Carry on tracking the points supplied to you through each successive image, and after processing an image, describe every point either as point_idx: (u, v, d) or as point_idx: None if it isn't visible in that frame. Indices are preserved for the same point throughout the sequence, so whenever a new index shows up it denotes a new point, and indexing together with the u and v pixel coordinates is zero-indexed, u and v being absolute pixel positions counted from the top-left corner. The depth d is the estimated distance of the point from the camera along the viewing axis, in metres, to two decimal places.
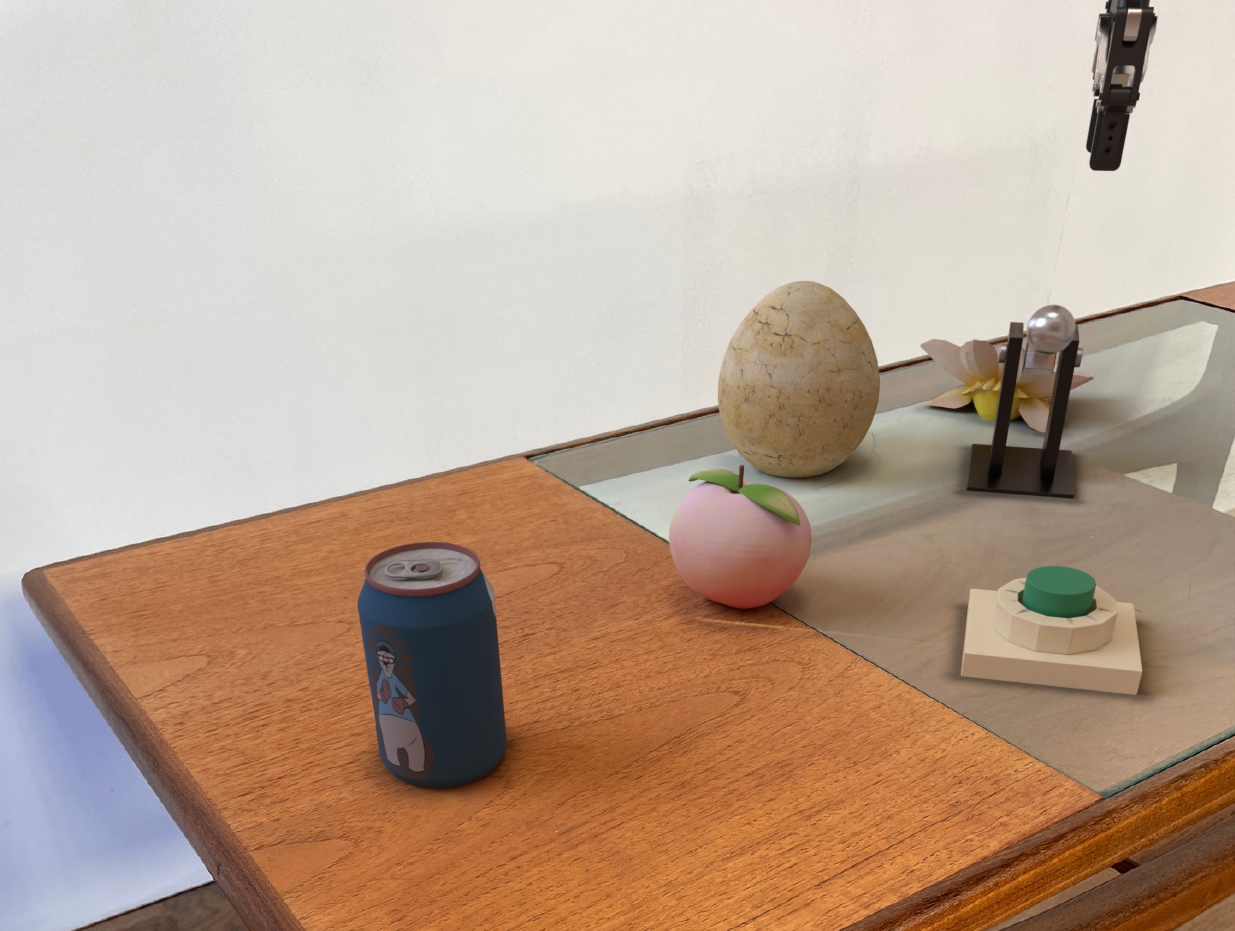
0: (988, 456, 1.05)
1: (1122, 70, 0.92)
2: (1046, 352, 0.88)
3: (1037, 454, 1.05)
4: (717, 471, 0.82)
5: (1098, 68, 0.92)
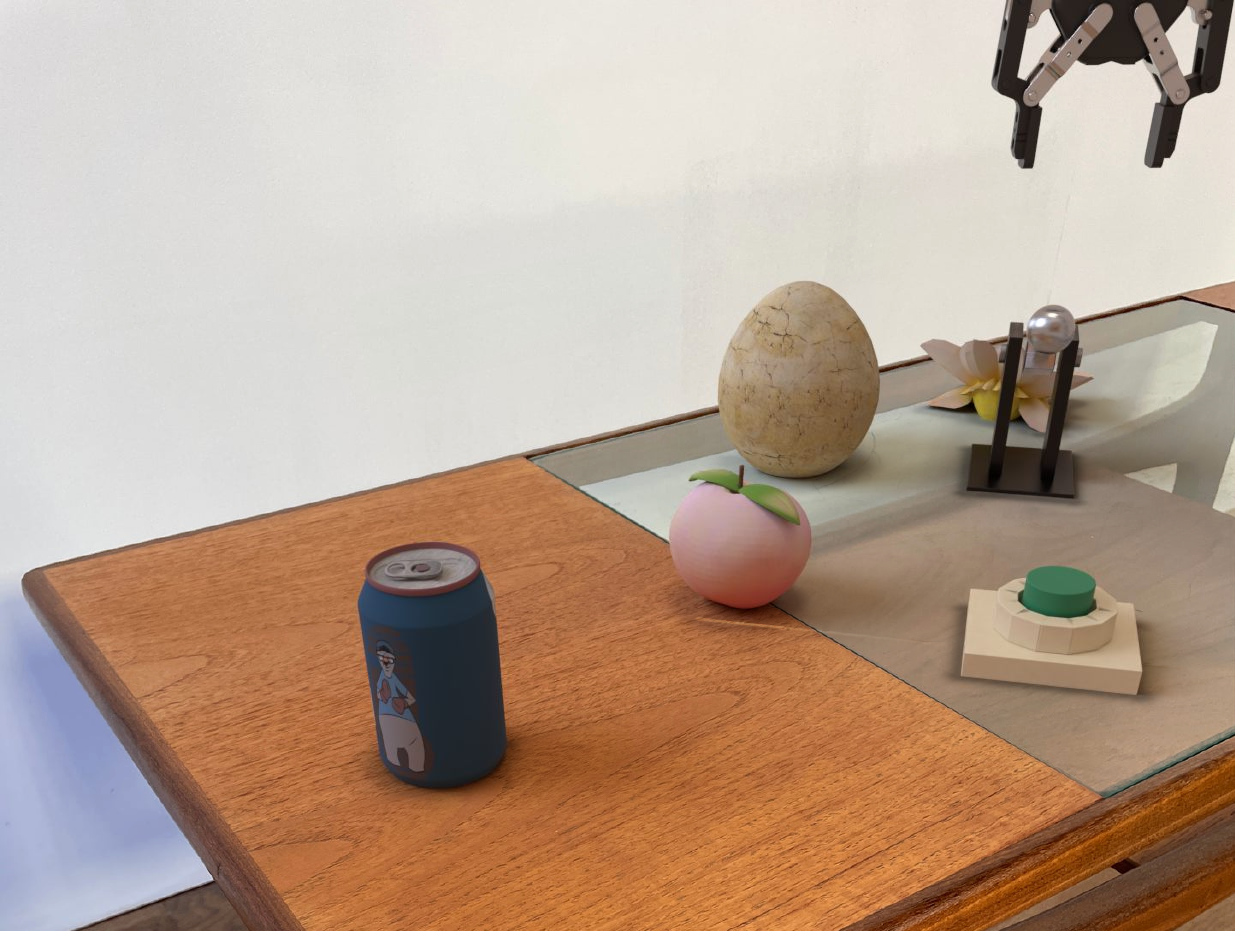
0: (988, 456, 1.05)
1: (1046, 59, 0.84)
2: (1046, 352, 0.88)
3: (1037, 454, 1.05)
4: (717, 471, 0.82)
5: (1043, 54, 0.85)
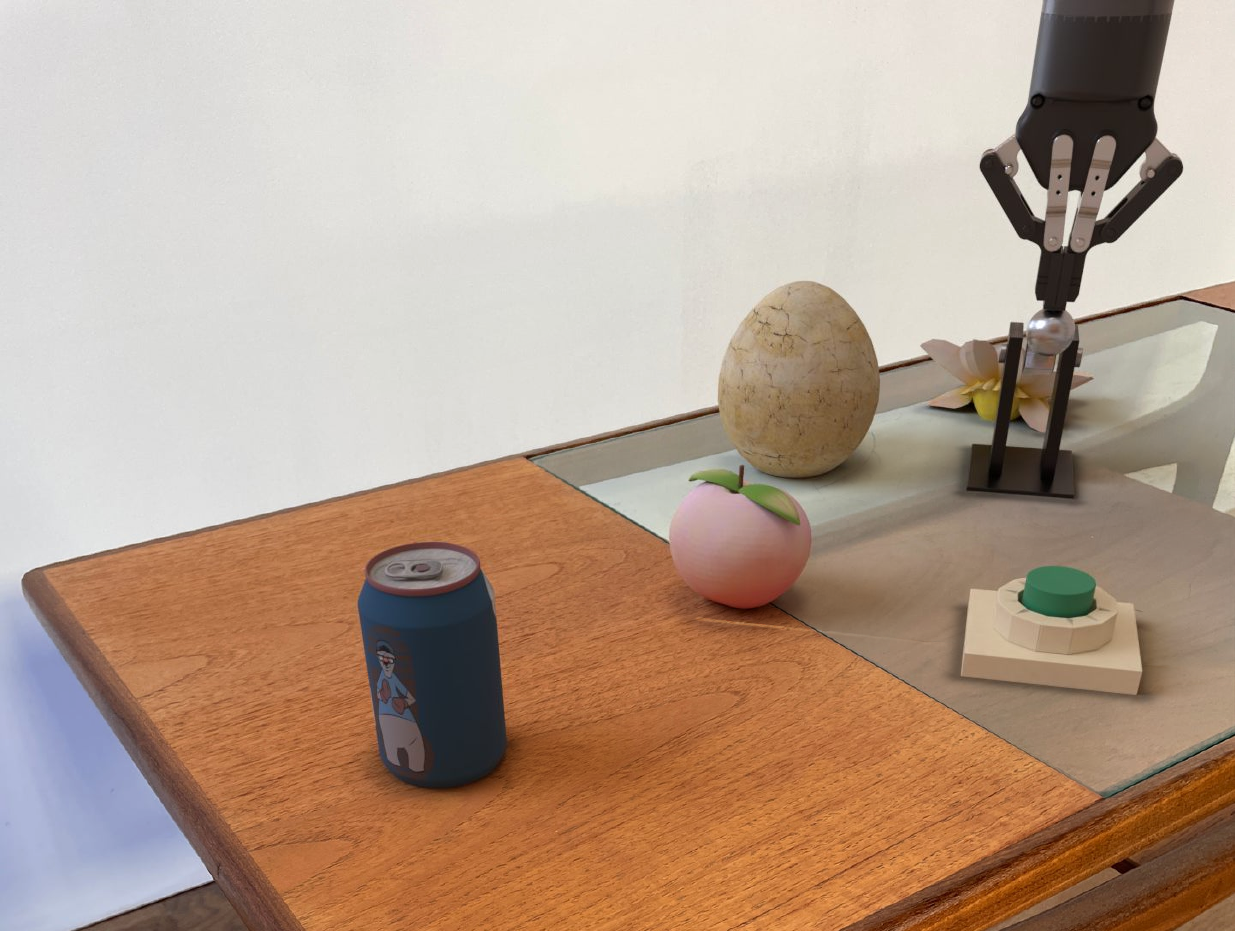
0: (988, 456, 1.05)
1: (1012, 184, 0.83)
2: (1046, 354, 0.88)
3: (1037, 454, 1.05)
4: (717, 471, 0.82)
5: None
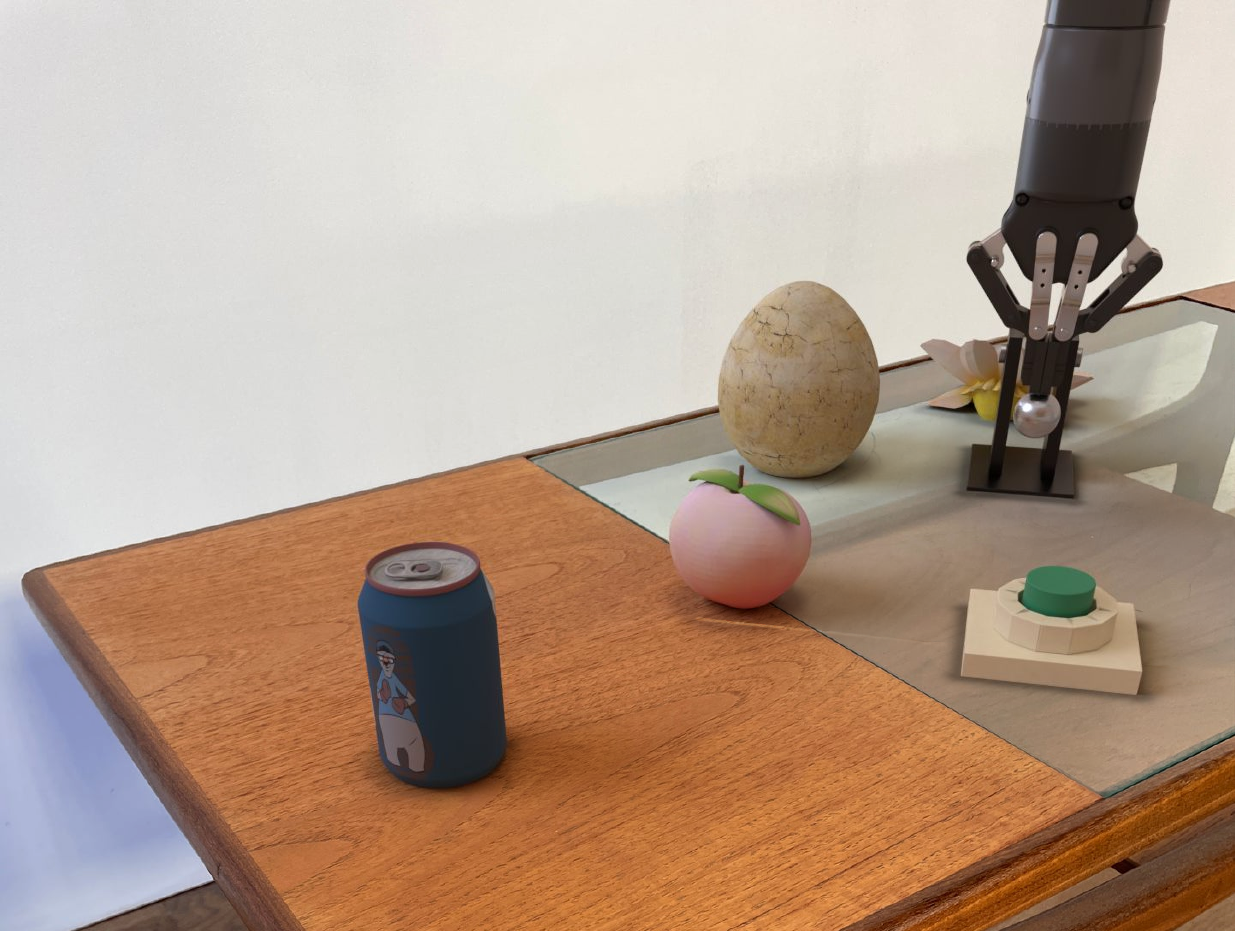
0: (988, 456, 1.05)
1: (998, 275, 0.86)
2: None
3: (1037, 454, 1.05)
4: (717, 471, 0.82)
5: None
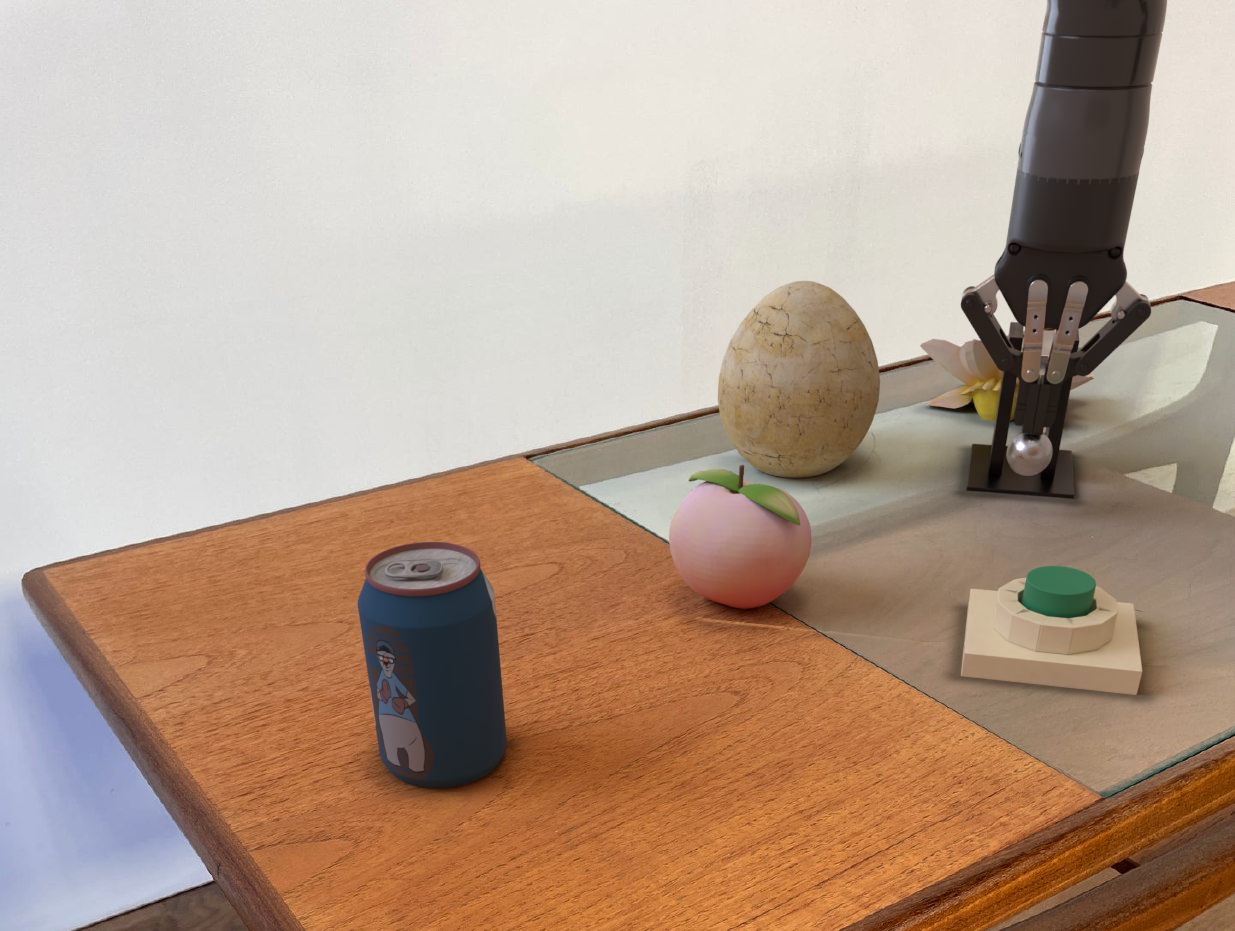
0: (988, 456, 1.05)
1: (991, 319, 0.89)
2: None
3: None
4: (717, 471, 0.82)
5: None
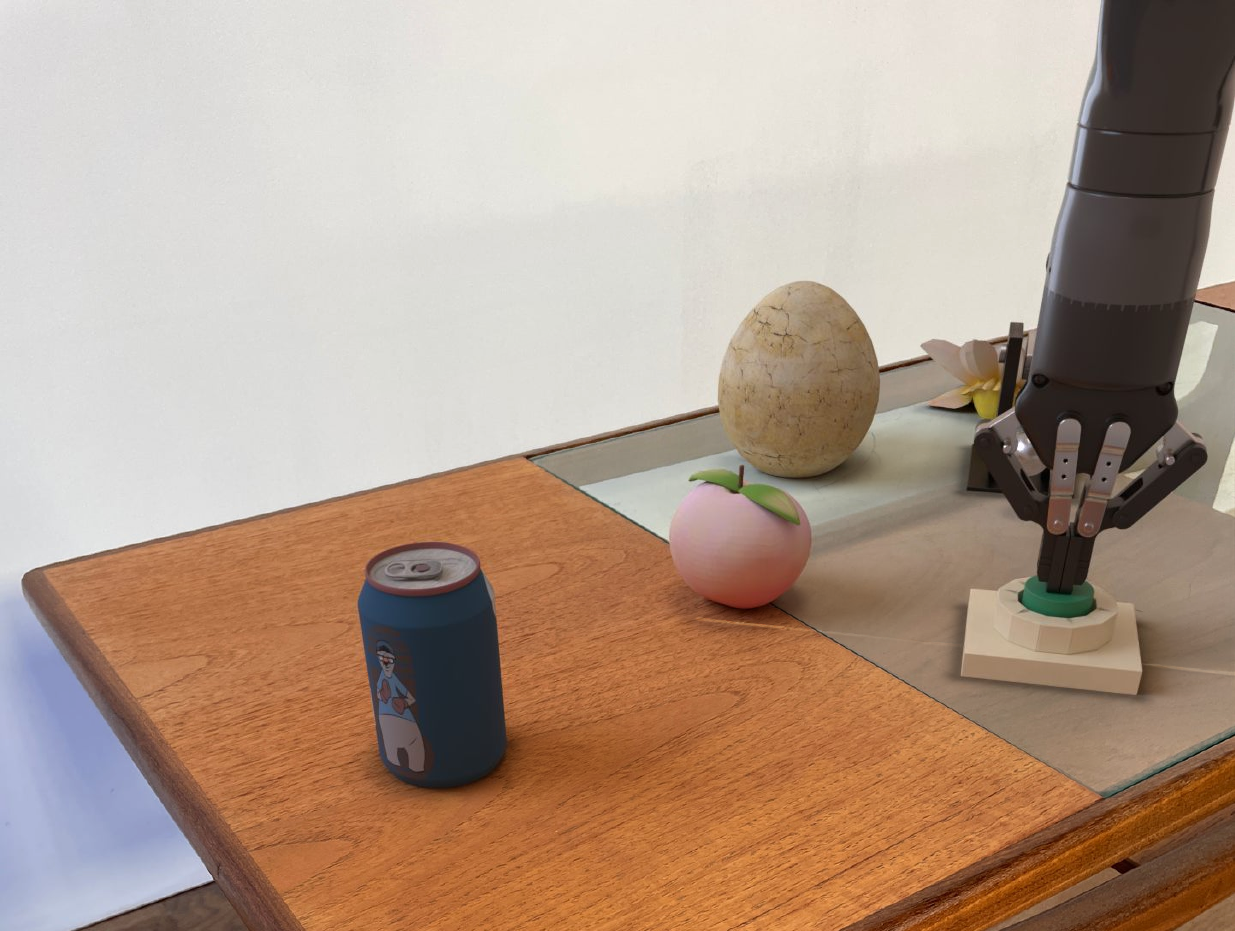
0: None
1: None
2: None
3: None
4: (717, 471, 0.82)
5: (1051, 469, 0.74)
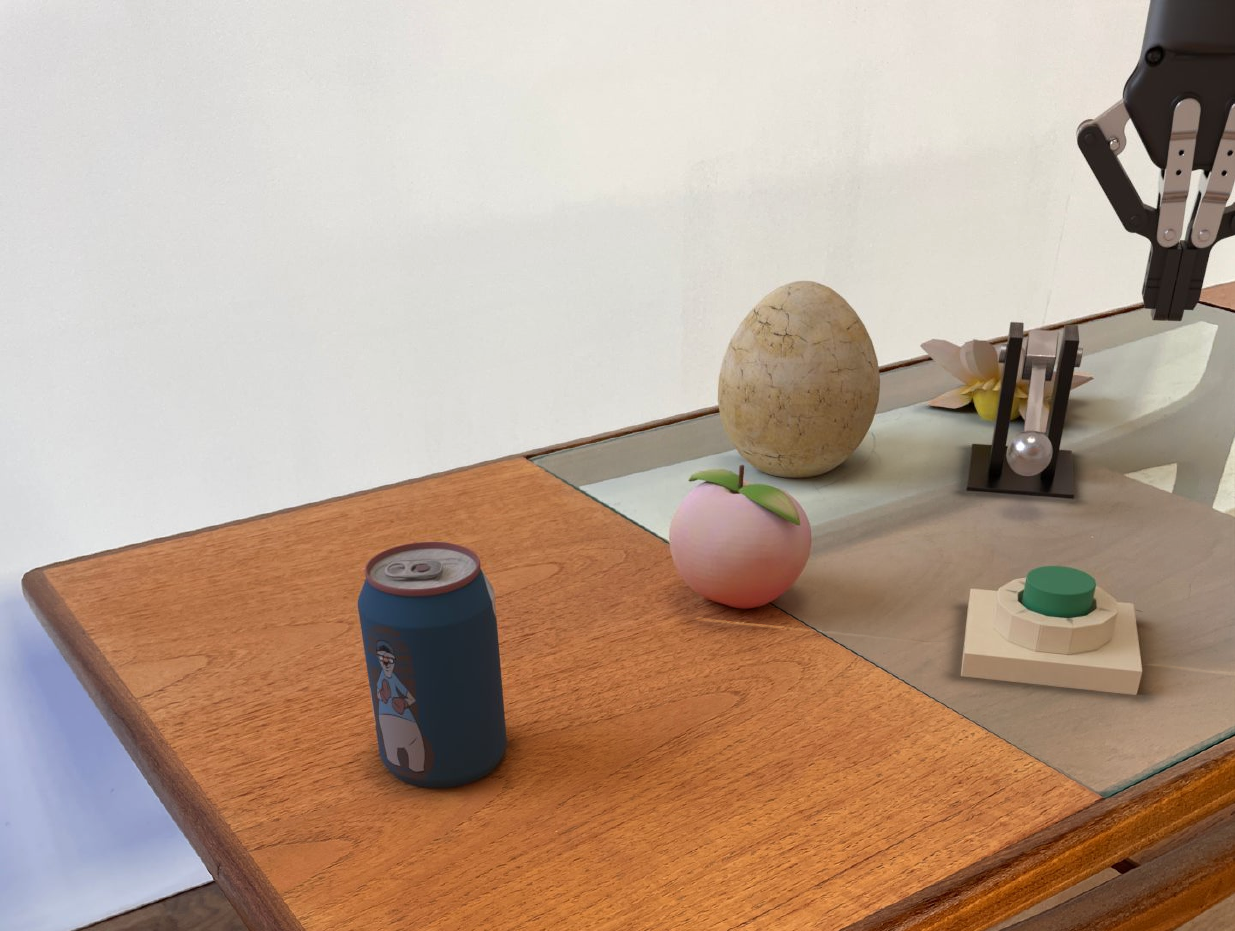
0: (988, 456, 1.05)
1: None
2: None
3: None
4: (717, 471, 0.82)
5: (1159, 178, 0.67)
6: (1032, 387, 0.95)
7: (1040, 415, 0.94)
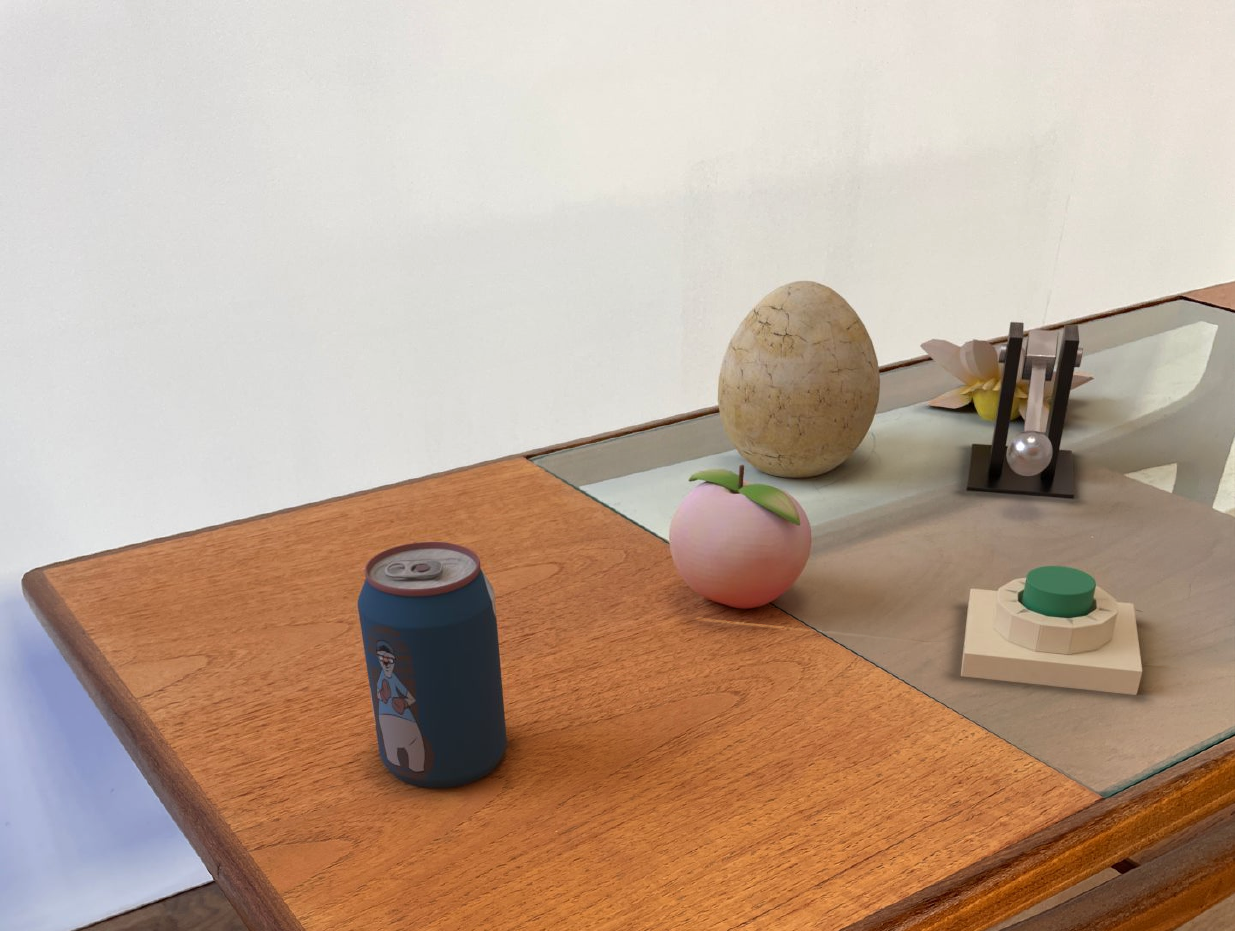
0: (988, 456, 1.05)
1: None
2: None
3: None
4: (717, 471, 0.82)
5: None
6: (1032, 387, 0.95)
7: (1040, 415, 0.94)
